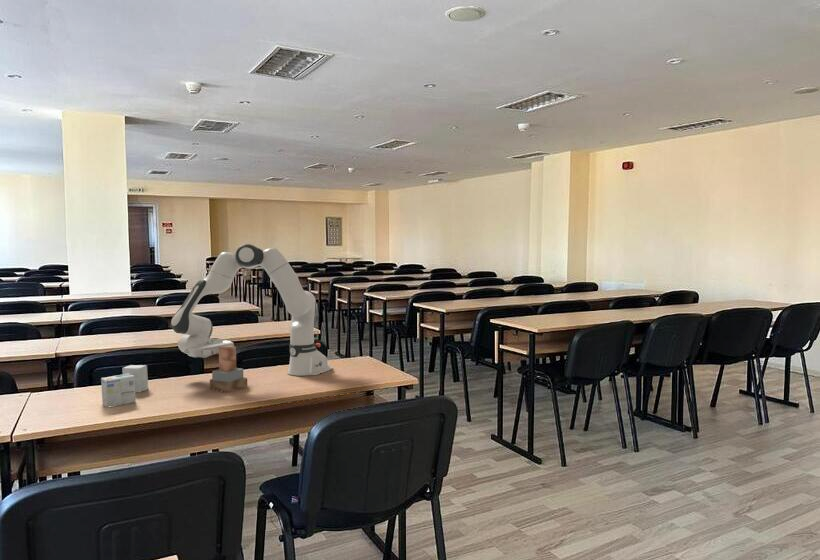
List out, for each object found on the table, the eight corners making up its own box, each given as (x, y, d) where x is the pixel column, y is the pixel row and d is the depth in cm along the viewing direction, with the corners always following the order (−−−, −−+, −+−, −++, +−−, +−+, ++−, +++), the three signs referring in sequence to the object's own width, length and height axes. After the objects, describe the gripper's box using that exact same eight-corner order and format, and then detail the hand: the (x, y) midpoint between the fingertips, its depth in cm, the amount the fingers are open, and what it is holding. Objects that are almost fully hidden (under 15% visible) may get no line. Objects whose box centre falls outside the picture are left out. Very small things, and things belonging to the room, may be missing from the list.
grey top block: (228, 375, 244) (227, 366, 244) (243, 377, 240) (243, 368, 240) (212, 380, 236) (212, 371, 236) (228, 382, 232) (227, 373, 232)
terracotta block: (229, 367, 241) (228, 345, 241) (236, 369, 238) (235, 346, 238) (219, 370, 237) (218, 347, 237) (226, 371, 234) (225, 348, 234)
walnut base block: (232, 384, 246) (231, 374, 246) (247, 388, 240) (247, 378, 239) (210, 389, 238) (209, 379, 237) (225, 394, 231) (225, 383, 231)
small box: (148, 389, 237) (147, 365, 237) (141, 392, 232) (140, 368, 231) (130, 388, 238) (129, 364, 237) (122, 392, 233) (121, 367, 232)
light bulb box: (130, 398, 223) (129, 372, 222) (136, 402, 218) (135, 375, 217) (101, 404, 215) (100, 377, 215) (106, 408, 211) (105, 380, 210)
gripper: (181, 344, 240) (199, 347, 231) (222, 337, 256) (241, 340, 247) (182, 358, 240) (200, 362, 232) (223, 350, 256) (241, 354, 248)
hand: (221, 351), depth 240 cm, fingers open, 8 cm apart
